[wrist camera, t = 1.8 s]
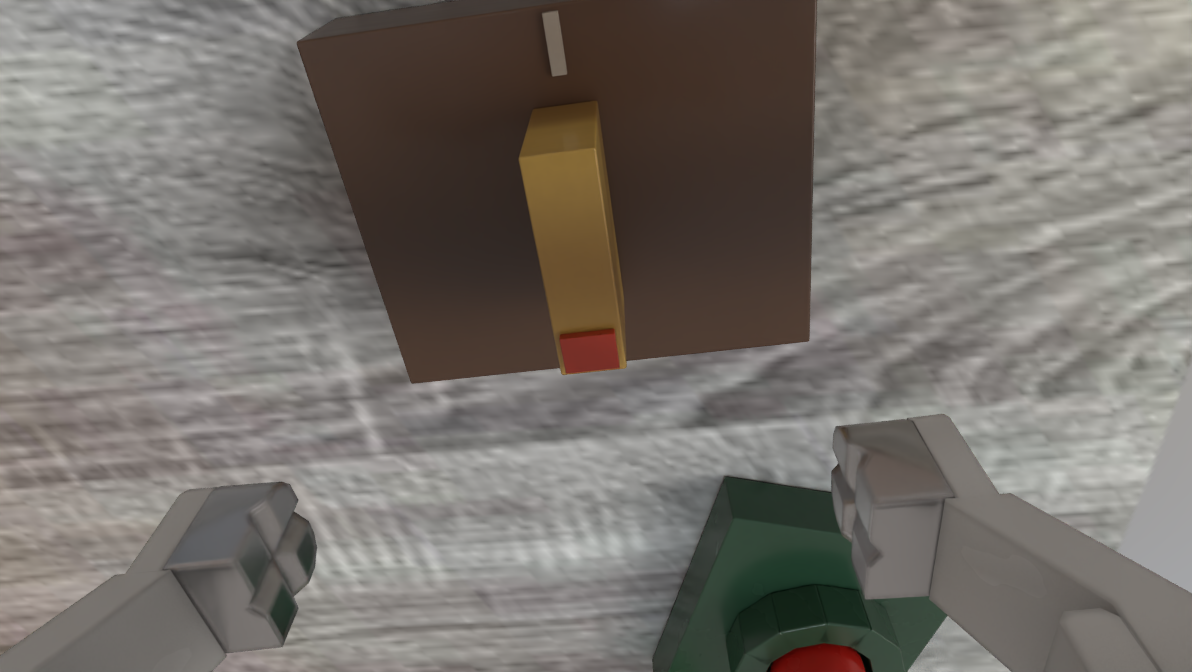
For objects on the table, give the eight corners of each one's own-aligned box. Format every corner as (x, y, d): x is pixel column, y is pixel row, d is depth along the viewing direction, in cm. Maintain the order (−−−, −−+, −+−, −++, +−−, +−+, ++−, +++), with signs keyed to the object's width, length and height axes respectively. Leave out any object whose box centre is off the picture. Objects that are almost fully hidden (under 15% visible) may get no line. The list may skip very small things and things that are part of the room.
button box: (724, 475, 28) (740, 557, 25) (966, 513, 29) (1013, 597, 26) (651, 659, 35) (656, 744, 32) (852, 685, 36) (878, 770, 33)
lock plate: (334, 18, 20) (292, 43, 17) (789, -51, 19) (820, -36, 16) (430, 331, 25) (409, 387, 22) (788, 291, 24) (811, 345, 21)
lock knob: (532, 108, 18) (516, 162, 15) (597, 99, 18) (595, 151, 15) (567, 303, 21) (560, 381, 18) (624, 296, 21) (627, 375, 18)
